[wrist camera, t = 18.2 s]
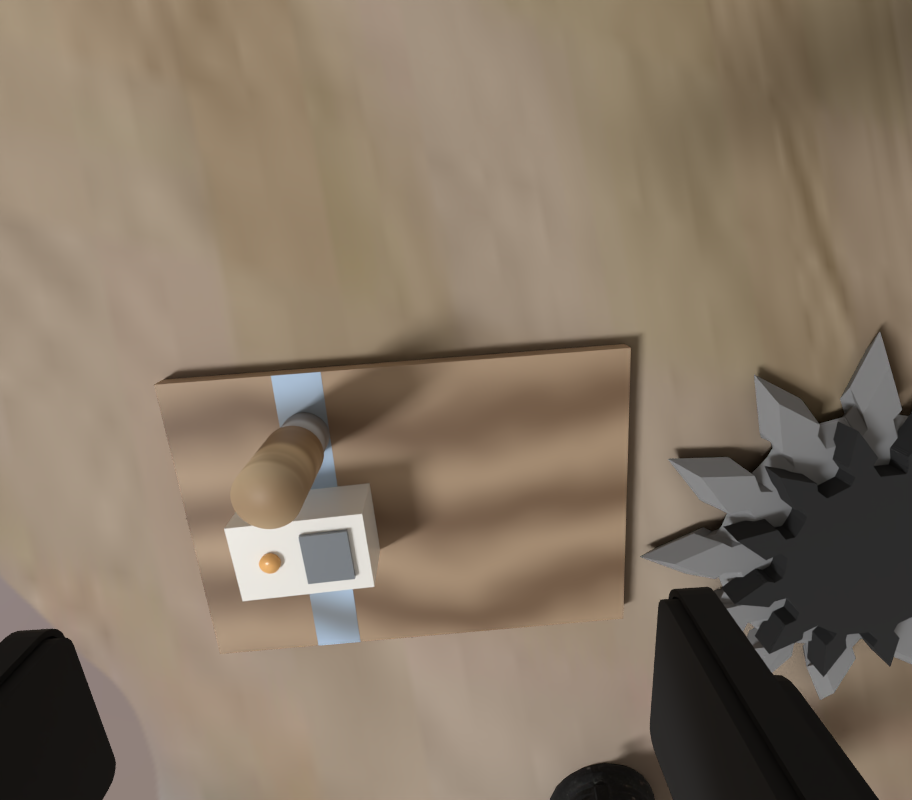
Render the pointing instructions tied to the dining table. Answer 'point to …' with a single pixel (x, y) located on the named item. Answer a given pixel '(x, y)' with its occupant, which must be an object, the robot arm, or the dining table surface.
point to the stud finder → (309, 547)
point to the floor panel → (426, 490)
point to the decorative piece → (813, 528)
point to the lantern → (604, 784)
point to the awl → (281, 473)
